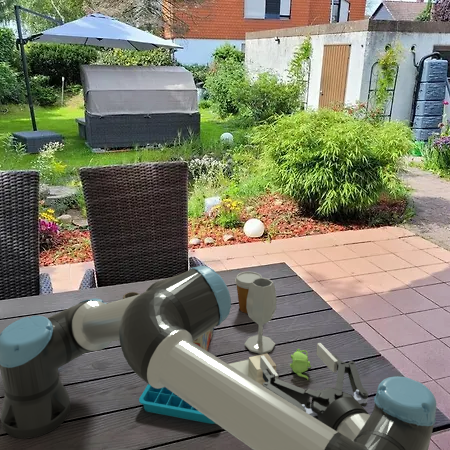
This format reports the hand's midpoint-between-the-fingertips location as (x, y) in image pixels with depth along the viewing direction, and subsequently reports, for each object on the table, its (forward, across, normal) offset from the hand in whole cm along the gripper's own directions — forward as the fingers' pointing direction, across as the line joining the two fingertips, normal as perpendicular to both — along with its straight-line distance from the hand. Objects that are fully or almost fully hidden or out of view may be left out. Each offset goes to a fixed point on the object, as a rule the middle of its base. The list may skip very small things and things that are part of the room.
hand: (290, 354), depth 92 cm
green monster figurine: (+20, +14, -22) cm, 33 cm away
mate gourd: (+62, -24, -22) cm, 70 cm away
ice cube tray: (+18, -18, -22) cm, 34 cm away
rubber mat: (+19, 0, -22) cm, 29 cm away
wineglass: (+34, +9, -22) cm, 42 cm away
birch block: (+13, 0, -22) cm, 26 cm away
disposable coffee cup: (+55, +14, -22) cm, 61 cm away
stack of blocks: (+39, -9, -22) cm, 46 cm away
